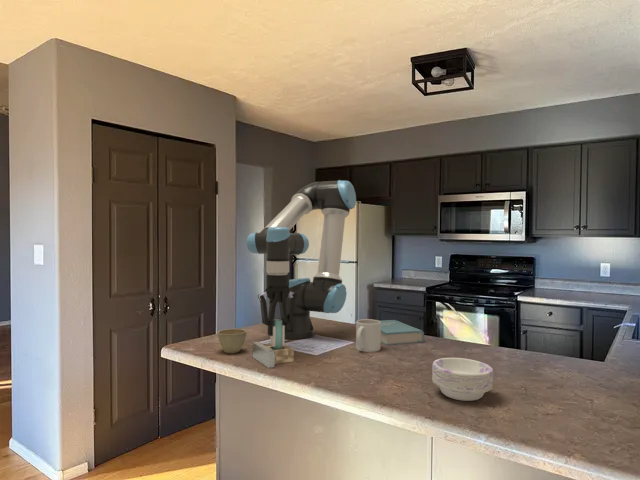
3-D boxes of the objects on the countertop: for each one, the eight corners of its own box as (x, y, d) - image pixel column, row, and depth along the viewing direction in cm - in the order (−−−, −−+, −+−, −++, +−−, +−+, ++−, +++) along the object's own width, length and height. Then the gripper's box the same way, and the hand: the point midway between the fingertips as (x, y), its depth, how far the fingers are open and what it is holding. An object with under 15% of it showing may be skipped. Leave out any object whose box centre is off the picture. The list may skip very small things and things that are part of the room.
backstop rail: (258, 356, 155) (258, 341, 155) (274, 367, 143) (274, 351, 142) (252, 357, 154) (252, 342, 154) (268, 367, 142) (268, 351, 141)
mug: (374, 345, 171) (374, 318, 171) (385, 351, 162) (385, 323, 162) (347, 347, 168) (347, 320, 168) (357, 353, 159) (357, 325, 159)
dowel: (279, 354, 152) (280, 319, 152) (283, 357, 150) (283, 320, 150) (271, 355, 151) (271, 319, 151) (274, 358, 148) (275, 321, 148)
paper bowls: (505, 402, 114) (506, 370, 114) (452, 408, 110) (453, 375, 110) (469, 383, 129) (469, 355, 129) (421, 387, 124) (421, 358, 124)
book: (362, 333, 193) (362, 321, 193) (396, 331, 198) (396, 319, 198) (386, 346, 172) (386, 333, 172) (423, 343, 177) (424, 330, 177)
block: (283, 355, 156) (283, 343, 156) (293, 361, 149) (293, 349, 149) (261, 358, 152) (261, 346, 152) (270, 364, 145) (270, 352, 145)
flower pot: (249, 348, 165) (249, 328, 165) (242, 355, 155) (242, 335, 155) (222, 347, 166) (222, 328, 166) (213, 354, 156) (213, 334, 156)
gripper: (294, 272, 157) (293, 340, 157) (251, 273, 150) (250, 345, 150) (304, 273, 151) (303, 344, 151) (259, 275, 143) (259, 350, 143)
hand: (277, 344), depth 150 cm, fingers closed on dowel, 2 cm apart
